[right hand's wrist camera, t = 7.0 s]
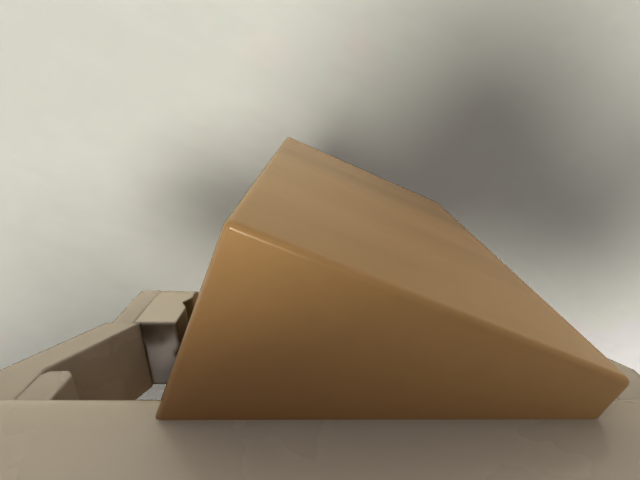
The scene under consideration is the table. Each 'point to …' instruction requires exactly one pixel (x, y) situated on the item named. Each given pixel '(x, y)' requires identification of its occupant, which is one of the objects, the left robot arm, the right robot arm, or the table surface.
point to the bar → (370, 314)
